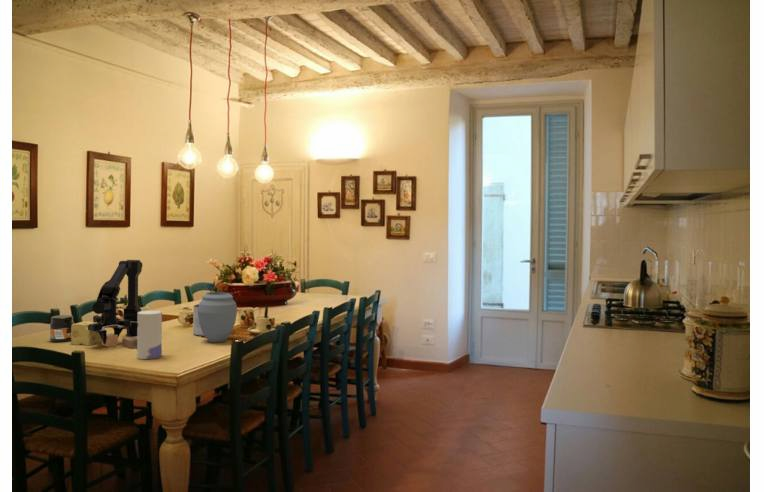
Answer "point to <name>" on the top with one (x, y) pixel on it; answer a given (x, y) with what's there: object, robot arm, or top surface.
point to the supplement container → (61, 328)
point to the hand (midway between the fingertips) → (109, 342)
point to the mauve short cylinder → (129, 342)
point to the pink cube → (111, 340)
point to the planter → (196, 322)
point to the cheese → (84, 334)
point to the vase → (217, 315)
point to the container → (149, 334)
